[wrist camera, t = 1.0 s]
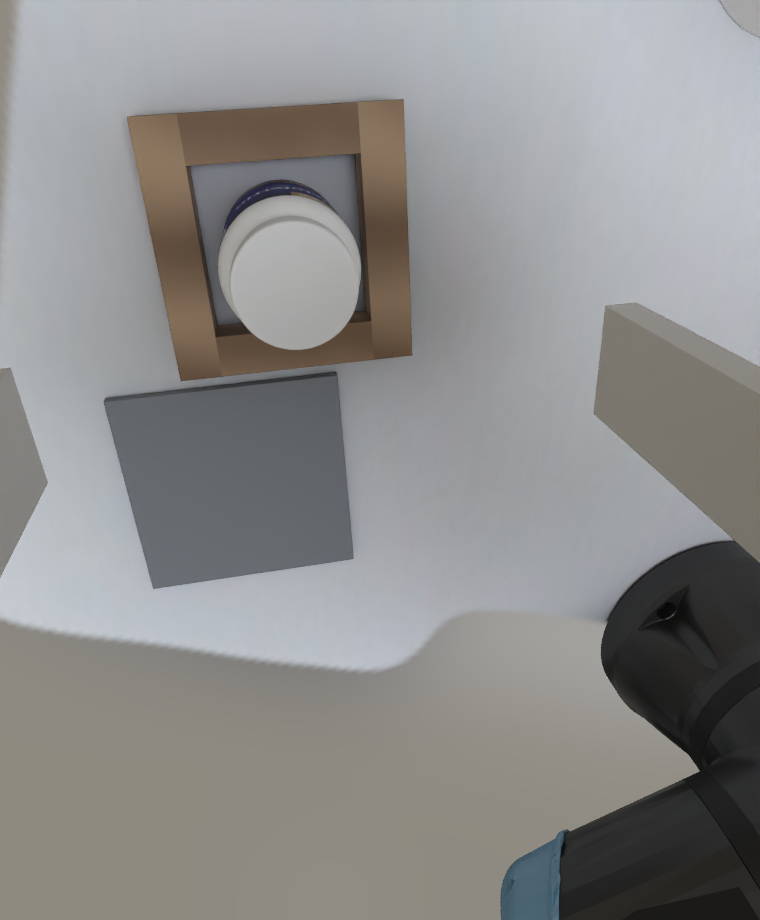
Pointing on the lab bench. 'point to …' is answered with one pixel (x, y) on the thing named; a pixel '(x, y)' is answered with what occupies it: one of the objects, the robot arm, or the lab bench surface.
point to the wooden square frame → (267, 138)
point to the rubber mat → (235, 477)
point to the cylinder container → (744, 14)
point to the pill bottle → (289, 265)
